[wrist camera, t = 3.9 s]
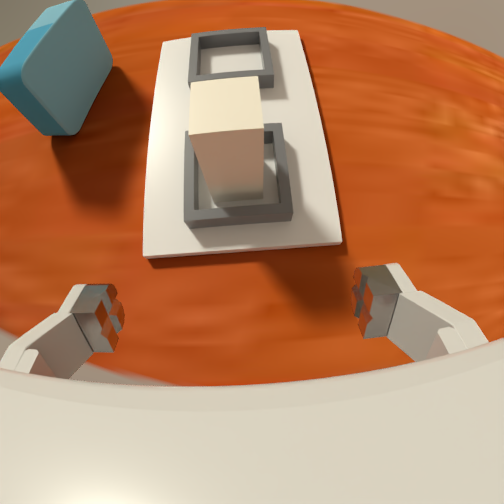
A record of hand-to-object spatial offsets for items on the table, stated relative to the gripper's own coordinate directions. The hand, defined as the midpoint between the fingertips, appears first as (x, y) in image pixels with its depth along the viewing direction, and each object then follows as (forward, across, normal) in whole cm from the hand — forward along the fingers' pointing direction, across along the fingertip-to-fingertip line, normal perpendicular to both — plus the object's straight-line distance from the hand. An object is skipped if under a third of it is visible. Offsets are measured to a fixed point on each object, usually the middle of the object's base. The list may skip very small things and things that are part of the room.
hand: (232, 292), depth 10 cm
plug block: (+17, 0, -2) cm, 17 cm away
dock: (+23, 0, +2) cm, 23 cm away
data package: (+28, -18, +7) cm, 34 cm away
